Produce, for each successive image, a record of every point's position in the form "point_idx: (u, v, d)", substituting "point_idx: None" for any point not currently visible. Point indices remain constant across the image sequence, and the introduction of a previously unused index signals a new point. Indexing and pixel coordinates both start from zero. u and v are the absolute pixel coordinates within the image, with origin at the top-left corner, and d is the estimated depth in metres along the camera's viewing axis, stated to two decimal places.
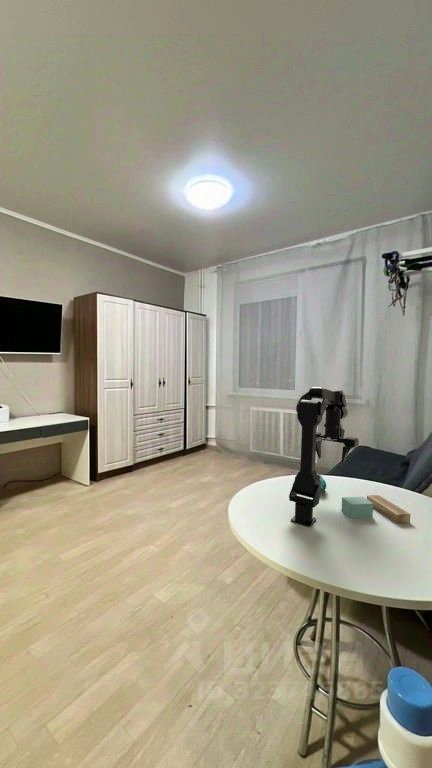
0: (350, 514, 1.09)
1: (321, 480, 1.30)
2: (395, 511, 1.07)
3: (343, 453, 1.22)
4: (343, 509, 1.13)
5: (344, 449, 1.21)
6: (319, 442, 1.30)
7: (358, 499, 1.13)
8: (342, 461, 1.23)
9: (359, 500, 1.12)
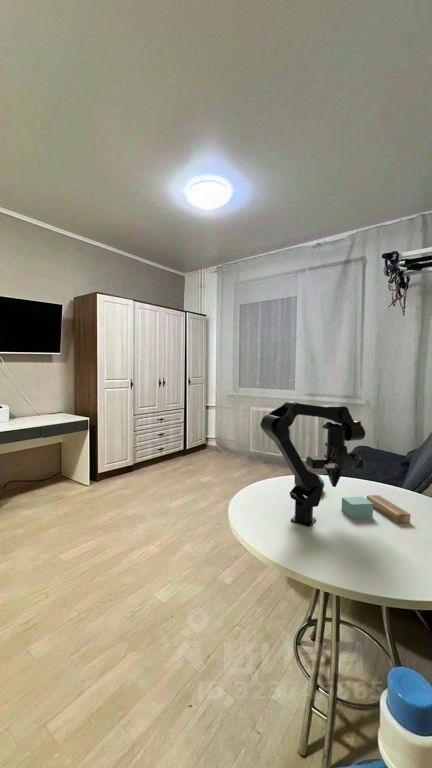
0: (350, 514, 1.09)
1: None
2: (395, 511, 1.07)
3: None
4: (343, 509, 1.13)
5: None
6: (336, 468, 1.10)
7: (358, 499, 1.13)
8: (332, 483, 1.11)
9: (359, 500, 1.12)
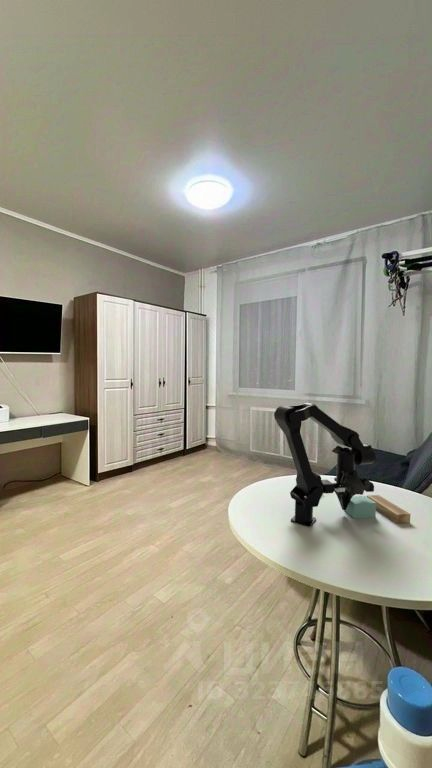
0: (353, 513, 1.09)
1: None
2: (395, 511, 1.07)
3: None
4: (346, 508, 1.13)
5: None
6: (346, 492, 1.11)
7: (361, 498, 1.13)
8: (342, 506, 1.12)
9: (362, 499, 1.12)
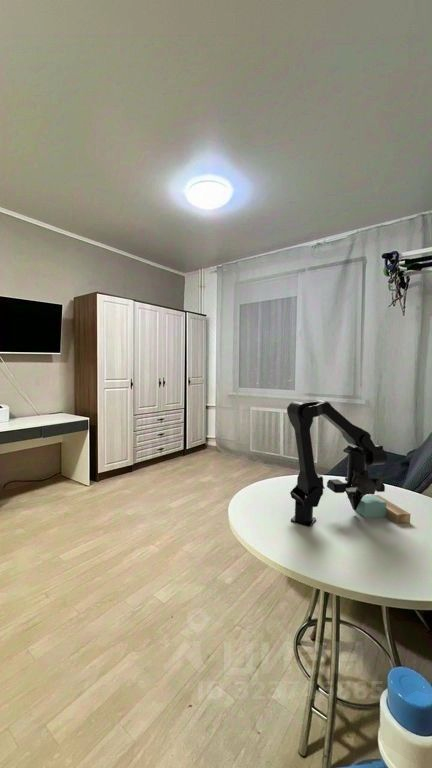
0: (364, 513, 1.10)
1: None
2: (395, 511, 1.07)
3: None
4: None
5: None
6: (357, 491, 1.11)
7: (371, 498, 1.13)
8: None
9: (372, 498, 1.13)
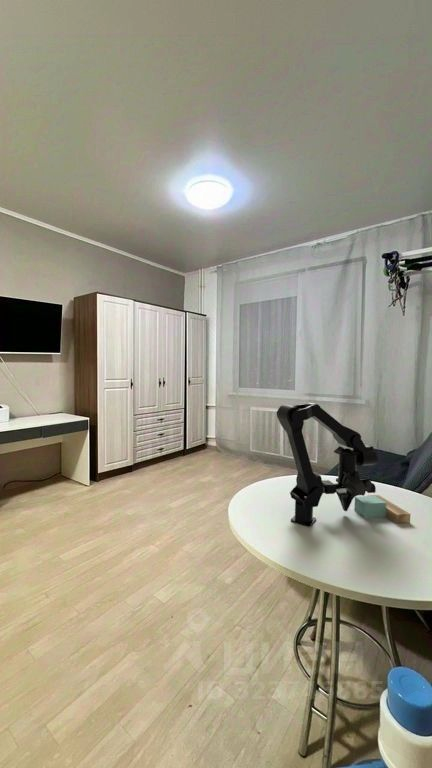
0: (364, 513, 1.10)
1: None
2: (395, 511, 1.07)
3: None
4: (356, 508, 1.14)
5: None
6: (348, 492, 1.11)
7: (371, 498, 1.13)
8: None
9: (372, 499, 1.13)
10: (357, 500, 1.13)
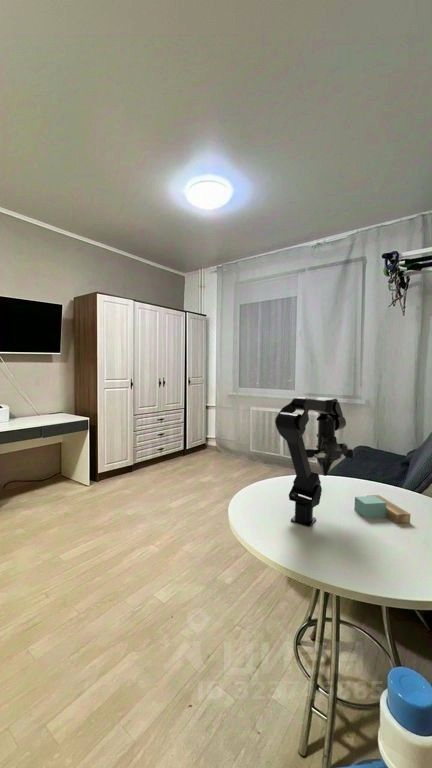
0: (363, 513, 1.10)
1: None
2: (395, 511, 1.07)
3: None
4: (356, 508, 1.14)
5: None
6: (327, 458, 1.15)
7: (371, 498, 1.13)
8: (323, 472, 1.16)
9: (372, 499, 1.13)
10: (357, 500, 1.13)
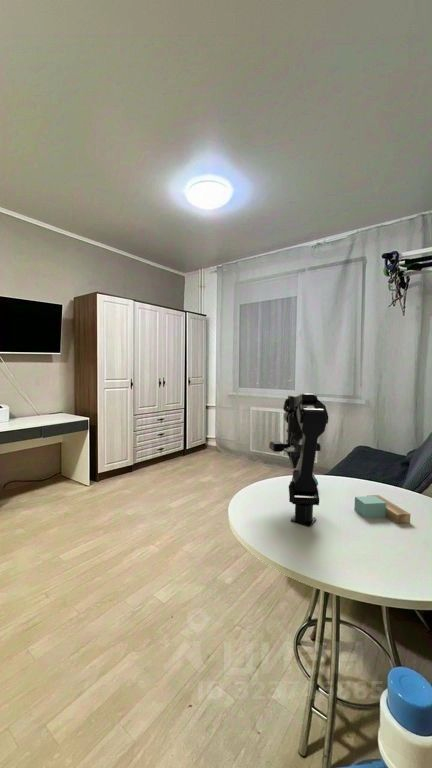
0: (363, 513, 1.10)
1: None
2: (395, 511, 1.07)
3: None
4: (356, 508, 1.14)
5: None
6: (296, 451, 1.23)
7: (371, 498, 1.13)
8: None
9: (372, 499, 1.13)
10: (357, 500, 1.13)
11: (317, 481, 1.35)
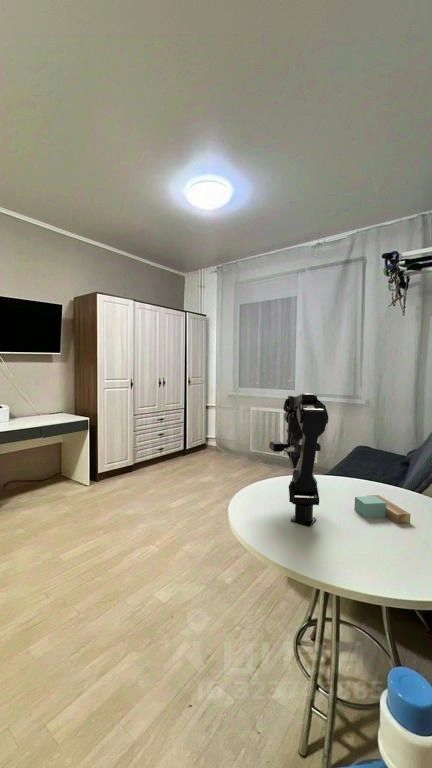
0: (363, 513, 1.10)
1: None
2: (395, 511, 1.07)
3: None
4: (356, 508, 1.14)
5: None
6: (296, 451, 1.23)
7: (371, 498, 1.13)
8: None
9: (372, 499, 1.13)
10: (357, 500, 1.13)
11: (316, 481, 1.35)
